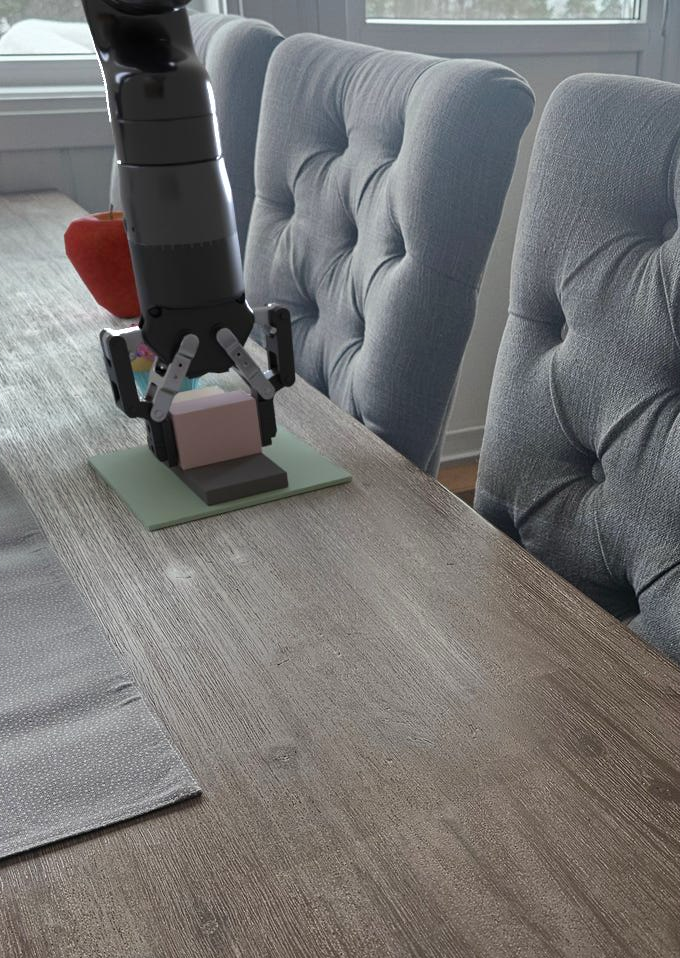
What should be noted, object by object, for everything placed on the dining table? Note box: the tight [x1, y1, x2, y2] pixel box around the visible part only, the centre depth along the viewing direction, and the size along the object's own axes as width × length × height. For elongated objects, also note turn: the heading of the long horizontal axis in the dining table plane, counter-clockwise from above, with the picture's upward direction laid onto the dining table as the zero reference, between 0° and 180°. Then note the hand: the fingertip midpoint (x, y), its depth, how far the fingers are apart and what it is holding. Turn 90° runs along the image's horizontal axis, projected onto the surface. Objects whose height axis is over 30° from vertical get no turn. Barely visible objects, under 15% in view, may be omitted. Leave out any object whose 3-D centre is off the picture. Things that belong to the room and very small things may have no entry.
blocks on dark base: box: [143, 385, 289, 506], centre depth 87 cm, size 14×6×6 cm, turn 32°
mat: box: [86, 422, 353, 532], centre depth 89 cm, size 16×16×1 cm
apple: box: [63, 202, 141, 318], centre depth 127 cm, size 11×11×12 cm
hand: (217, 453), depth 87 cm, fingers open, 7 cm apart
